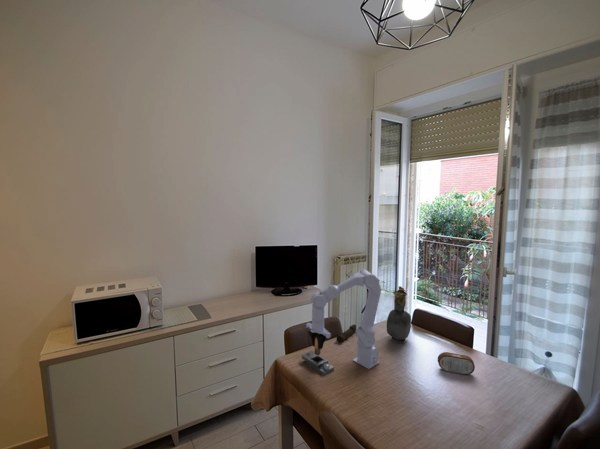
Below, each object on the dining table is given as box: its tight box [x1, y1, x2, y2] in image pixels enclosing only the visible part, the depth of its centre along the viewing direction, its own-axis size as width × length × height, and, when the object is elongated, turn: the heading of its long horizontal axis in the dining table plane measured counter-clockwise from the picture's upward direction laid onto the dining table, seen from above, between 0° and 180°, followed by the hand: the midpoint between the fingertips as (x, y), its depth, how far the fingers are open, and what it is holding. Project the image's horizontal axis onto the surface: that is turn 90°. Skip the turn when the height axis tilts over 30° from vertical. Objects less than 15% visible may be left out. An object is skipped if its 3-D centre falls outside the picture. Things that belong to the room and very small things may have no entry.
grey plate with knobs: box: [301, 350, 335, 376], centre depth 140 cm, size 15×7×3 cm, turn 41°
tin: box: [437, 351, 476, 376], centre depth 136 cm, size 15×3×8 cm, turn 71°
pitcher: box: [386, 286, 412, 344], centre depth 167 cm, size 11×19×30 cm, turn 147°
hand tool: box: [336, 324, 357, 344], centre depth 170 cm, size 19×4×5 cm, turn 139°
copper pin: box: [313, 336, 322, 356], centre depth 140 cm, size 3×3×8 cm
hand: (317, 347), depth 140 cm, fingers closed on copper pin, 3 cm apart
